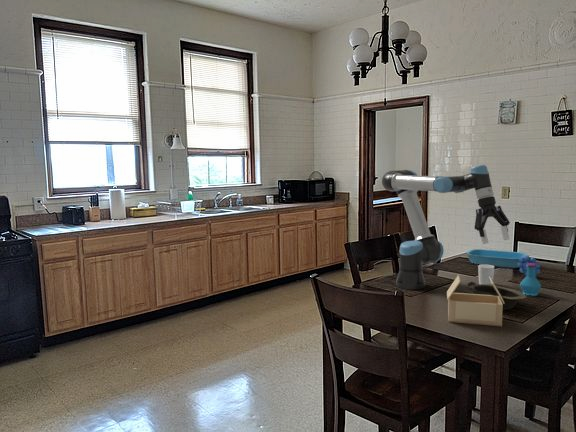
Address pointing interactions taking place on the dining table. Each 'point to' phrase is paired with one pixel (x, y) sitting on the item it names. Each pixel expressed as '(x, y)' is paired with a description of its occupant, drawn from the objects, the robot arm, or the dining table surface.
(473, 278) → the dining table surface
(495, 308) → the carton
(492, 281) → the flap
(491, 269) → the white cup
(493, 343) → the dining table surface
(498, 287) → the stone bowl
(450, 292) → the flap
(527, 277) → the perfume bottle
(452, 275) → the dining table surface
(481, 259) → the casserole dish
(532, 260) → the grapes
